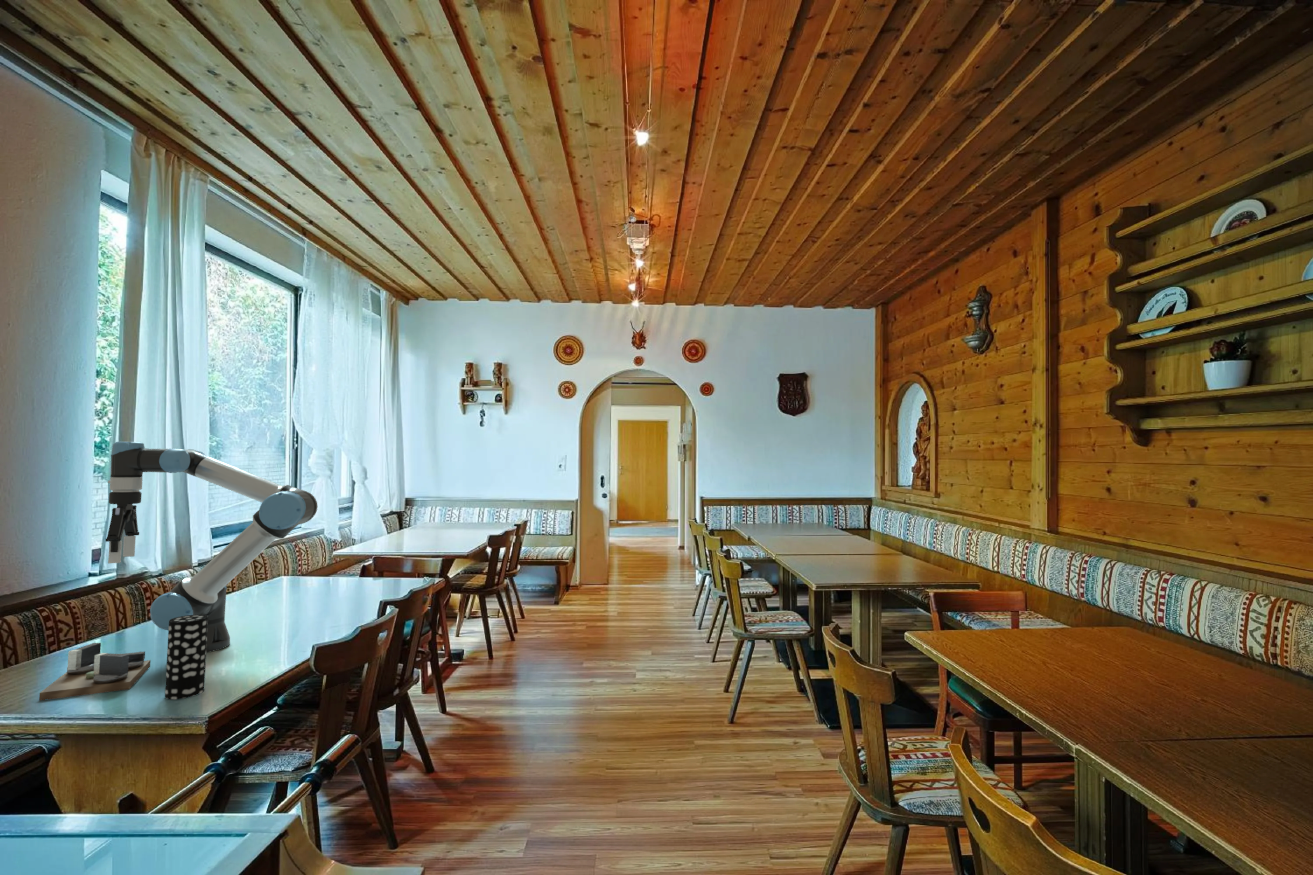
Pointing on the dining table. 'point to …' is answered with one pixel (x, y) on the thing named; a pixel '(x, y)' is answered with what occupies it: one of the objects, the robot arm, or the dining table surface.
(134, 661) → the knob
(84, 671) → the knob
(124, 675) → the knob
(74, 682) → the base
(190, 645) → the white-spotted black cylinder
